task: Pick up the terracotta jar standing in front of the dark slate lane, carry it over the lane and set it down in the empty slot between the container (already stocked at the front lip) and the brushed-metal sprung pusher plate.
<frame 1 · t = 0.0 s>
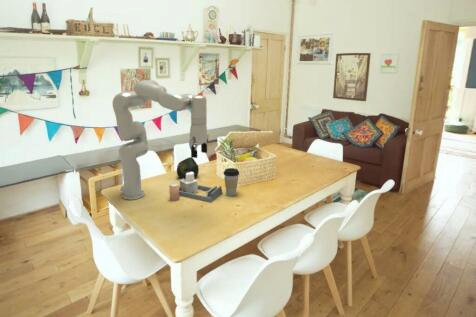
hand: (199, 154, 161), 31 cm above the table, fingers open, 9 cm apart
jar: (174, 198, 185), on the table
coffee cup: (231, 194, 193), on the table
squash: (188, 177, 218), on the table
container: (188, 192, 195), resting in lane
lane: (197, 193, 192), on the table
pusher: (211, 192, 188), point 3 cm above the table, slide at 0.0 cm
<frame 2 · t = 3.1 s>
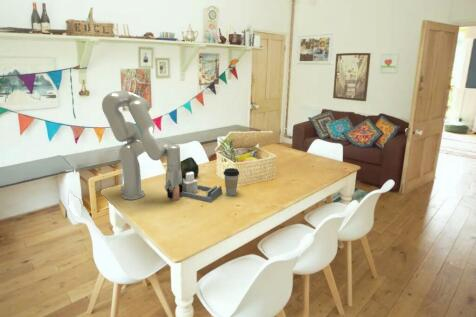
hand: (175, 194, 184), 2 cm above the table, fingers open, 9 cm apart
nothing on the table moved.
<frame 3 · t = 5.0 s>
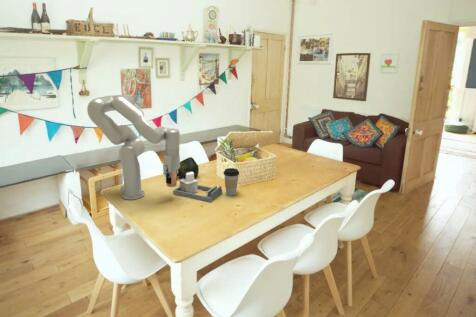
hand: (171, 181, 182), 11 cm above the table, fingers closed on jar, 5 cm apart
jar: (171, 185, 183), point 8 cm above the table, touching gripper
everything else where it was.
when the fingers open (3 cm above the table, at t = 8.9 s): jar stays where it is, resting in lane.
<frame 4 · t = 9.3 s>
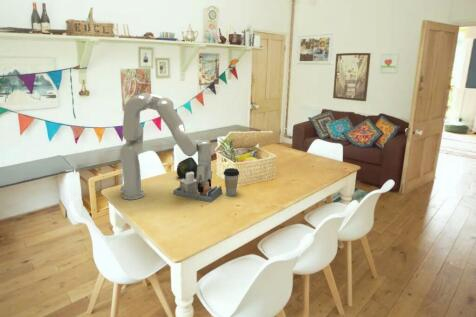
hand: (204, 189, 189), 4 cm above the table, fingers open, 9 cm apart
jar: (204, 195, 191), resting in lane
everything else where it was.
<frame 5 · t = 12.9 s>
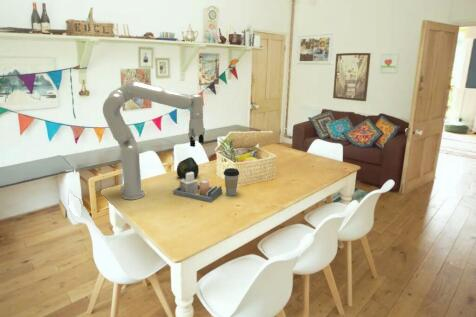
hand: (197, 144, 191), 28 cm above the table, fingers open, 9 cm apart
nothing on the table moved.
at the end: jar inside the target area on the lane (0.3 cm from its centre), point 0.0 cm above the lane's base; jar tilted 0°; the gripper is holding nothing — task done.
